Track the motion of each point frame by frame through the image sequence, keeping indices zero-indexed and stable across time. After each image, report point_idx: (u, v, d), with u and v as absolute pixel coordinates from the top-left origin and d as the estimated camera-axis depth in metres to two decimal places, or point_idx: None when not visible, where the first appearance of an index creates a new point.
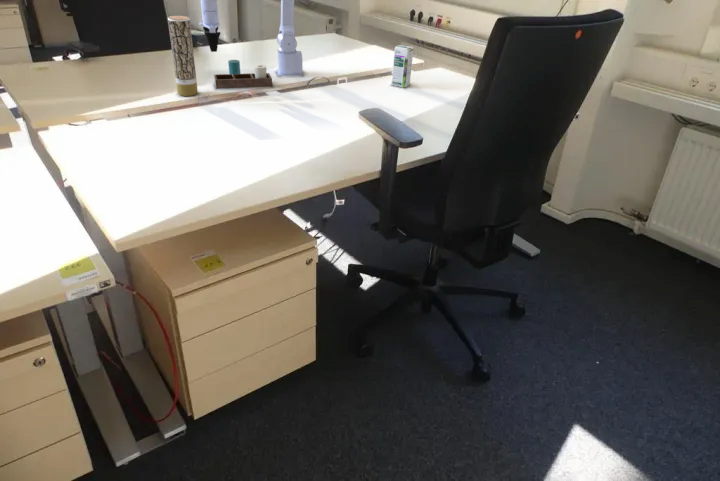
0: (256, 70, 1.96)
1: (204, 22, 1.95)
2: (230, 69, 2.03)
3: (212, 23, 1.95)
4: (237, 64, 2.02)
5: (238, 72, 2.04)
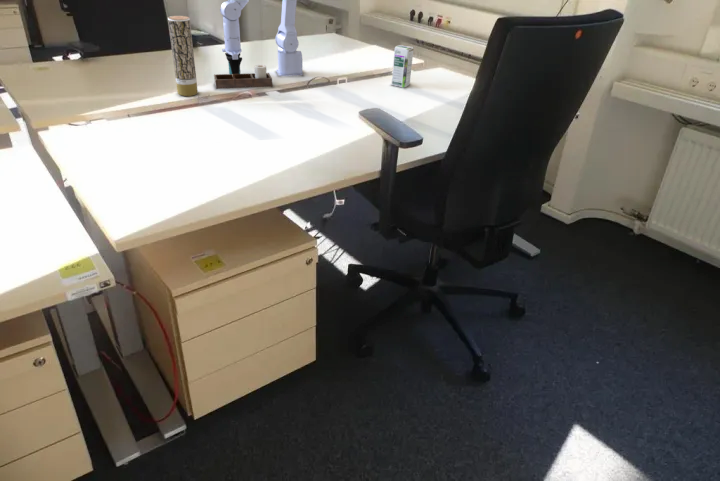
0: (256, 70, 1.96)
1: (227, 49, 1.98)
2: (230, 69, 2.02)
3: (235, 50, 1.98)
4: None
5: None
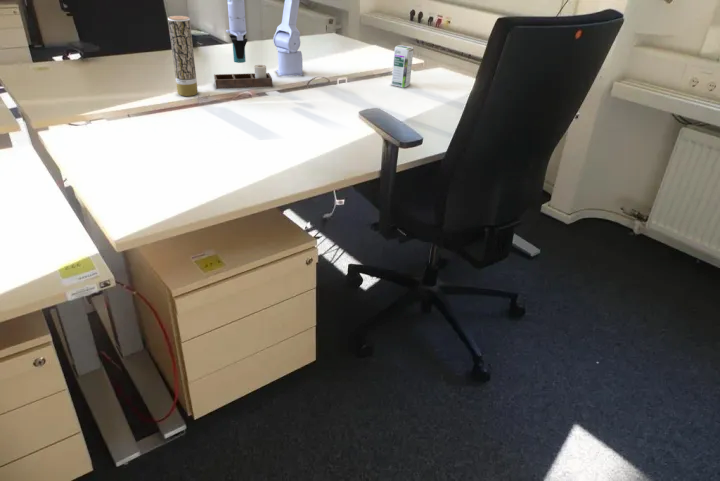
0: (256, 70, 1.96)
1: (231, 29, 1.88)
2: (234, 51, 1.92)
3: (239, 30, 1.88)
4: None
5: None
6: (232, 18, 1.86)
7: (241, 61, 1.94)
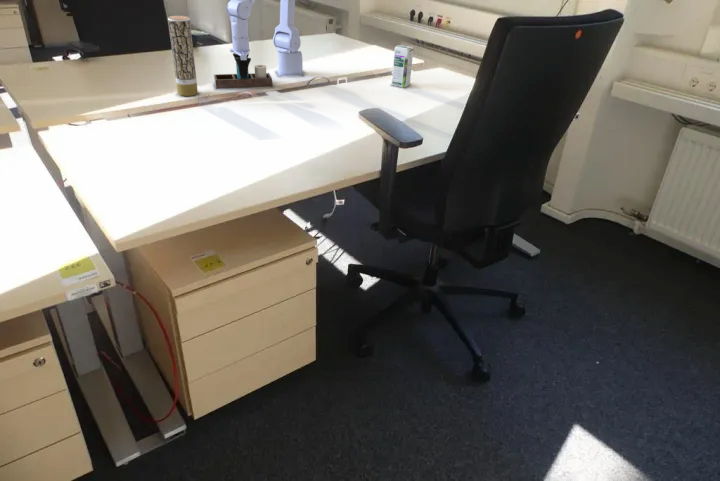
0: (256, 70, 1.96)
1: (235, 49, 1.89)
2: (238, 70, 1.94)
3: (243, 50, 1.89)
4: None
5: None
6: (236, 38, 1.87)
7: None
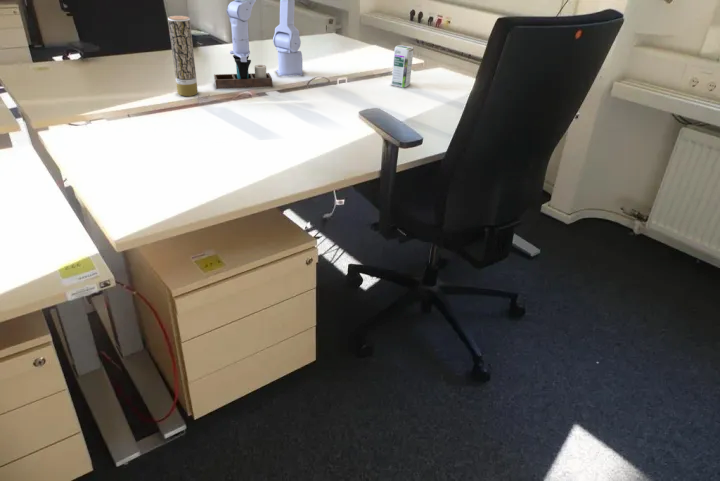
0: (256, 70, 1.96)
1: (235, 51, 1.90)
2: (238, 72, 1.94)
3: (243, 52, 1.90)
4: None
5: None
6: (236, 40, 1.87)
7: None
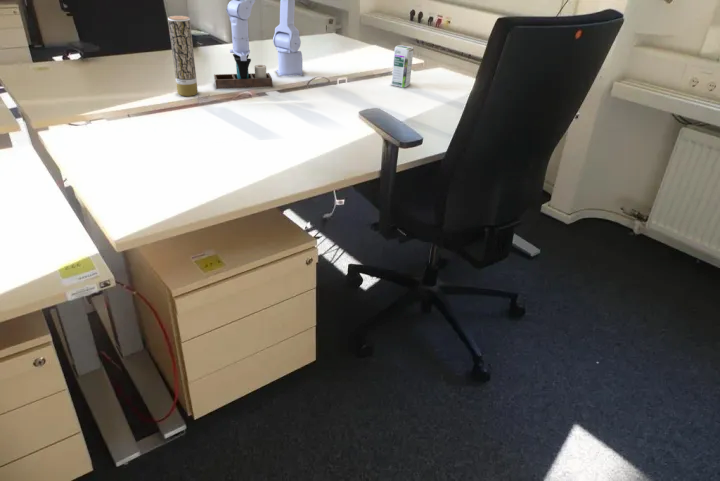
0: (256, 70, 1.96)
1: (235, 49, 1.90)
2: (238, 71, 1.94)
3: (243, 50, 1.89)
4: None
5: None
6: (236, 39, 1.87)
7: None
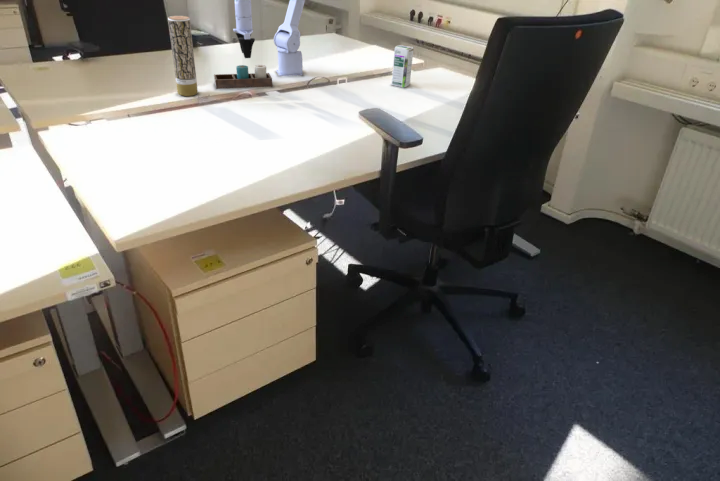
0: (256, 70, 1.96)
1: (238, 28, 1.92)
2: (238, 75, 1.95)
3: (246, 29, 1.92)
4: (245, 70, 1.94)
5: (246, 78, 1.96)
6: (239, 17, 1.89)
7: None
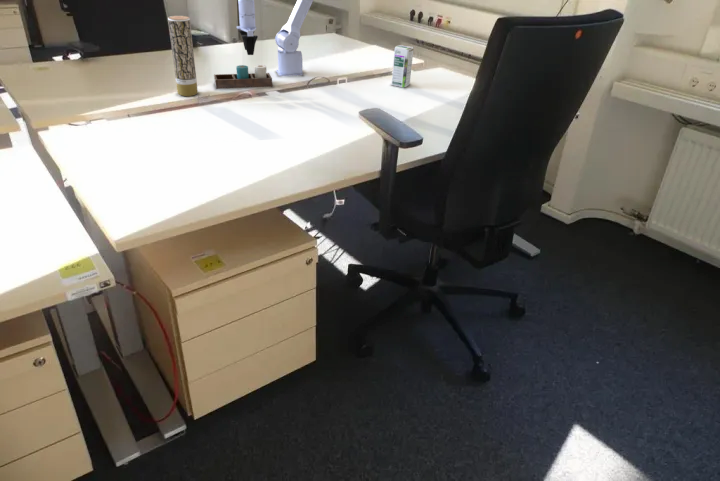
0: (256, 70, 1.96)
1: (241, 26, 1.96)
2: (238, 75, 1.95)
3: (249, 27, 1.96)
4: (245, 70, 1.94)
5: (246, 78, 1.96)
6: (242, 15, 1.94)
7: None
